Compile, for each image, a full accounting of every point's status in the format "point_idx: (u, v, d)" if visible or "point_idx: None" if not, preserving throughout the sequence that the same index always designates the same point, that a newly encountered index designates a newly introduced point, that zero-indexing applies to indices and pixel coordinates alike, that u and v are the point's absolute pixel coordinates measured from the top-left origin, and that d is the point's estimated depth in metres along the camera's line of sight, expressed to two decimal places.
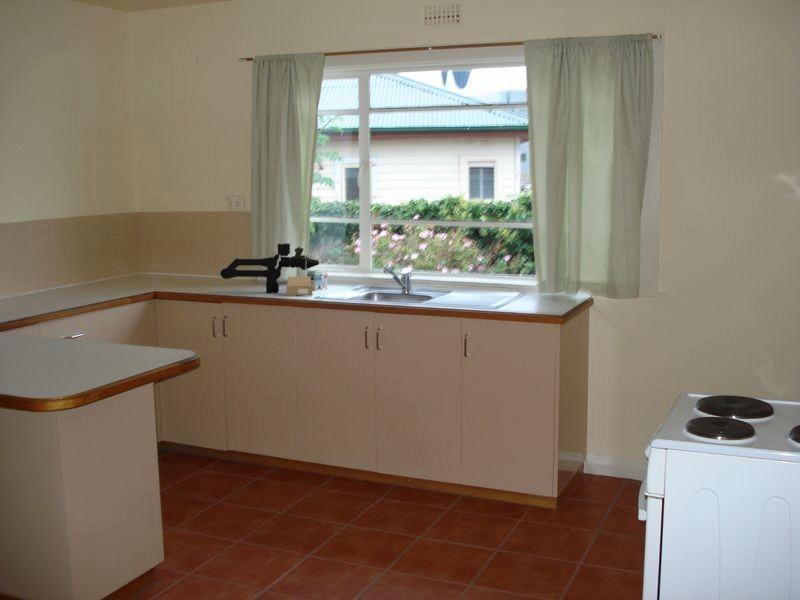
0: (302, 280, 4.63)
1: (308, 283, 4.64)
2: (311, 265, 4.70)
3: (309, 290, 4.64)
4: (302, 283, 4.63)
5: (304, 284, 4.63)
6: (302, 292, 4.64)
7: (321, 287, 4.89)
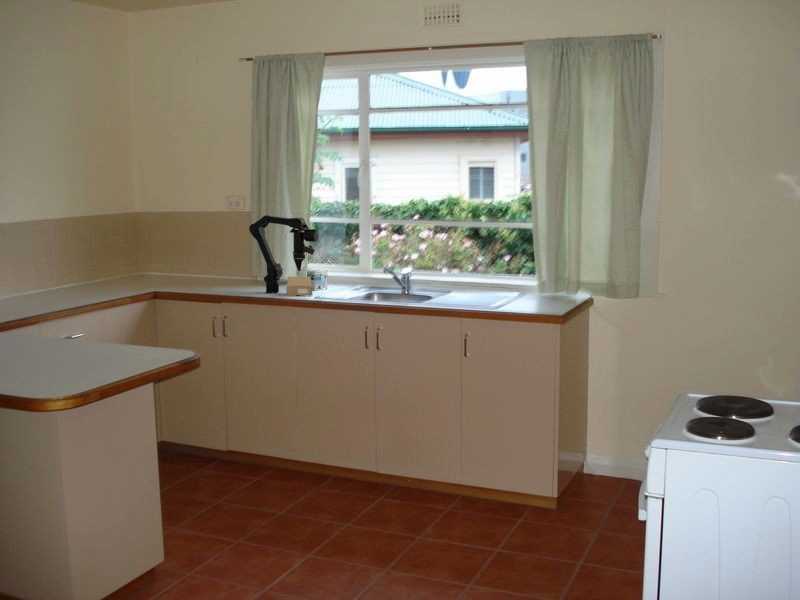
0: (302, 280, 4.63)
1: (308, 283, 4.64)
2: (297, 263, 4.63)
3: (309, 290, 4.64)
4: (302, 283, 4.63)
5: (304, 284, 4.63)
6: (302, 292, 4.64)
7: (321, 287, 4.89)
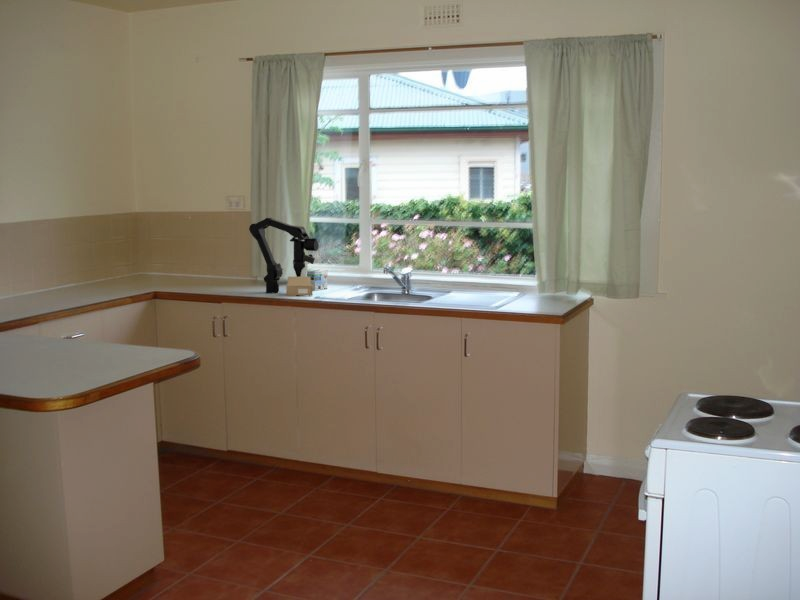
0: (302, 280, 4.63)
1: (308, 283, 4.64)
2: (297, 271, 4.67)
3: (309, 290, 4.64)
4: (302, 283, 4.63)
5: (304, 284, 4.63)
6: (302, 292, 4.64)
7: (321, 287, 4.89)
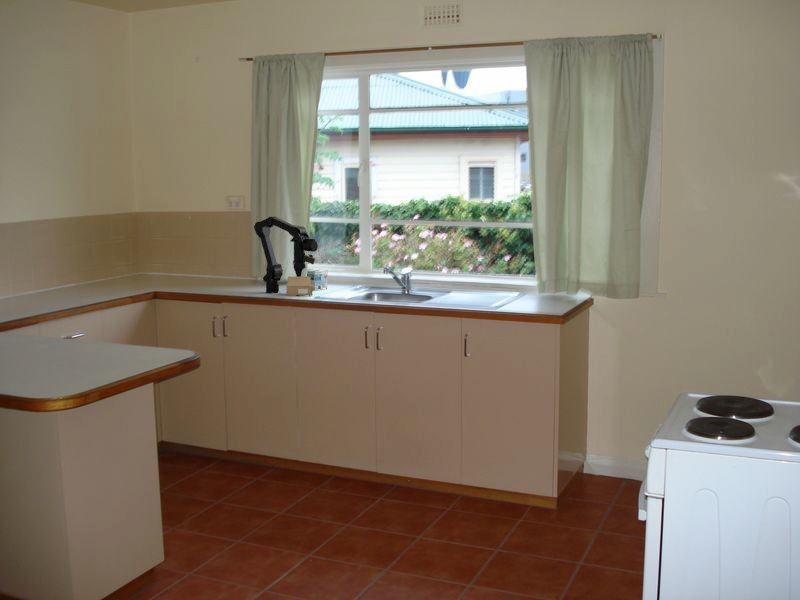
0: (302, 280, 4.63)
1: (308, 283, 4.64)
2: (297, 272, 4.63)
3: (309, 290, 4.64)
4: (302, 283, 4.63)
5: (304, 284, 4.63)
6: (302, 292, 4.64)
7: (321, 287, 4.89)
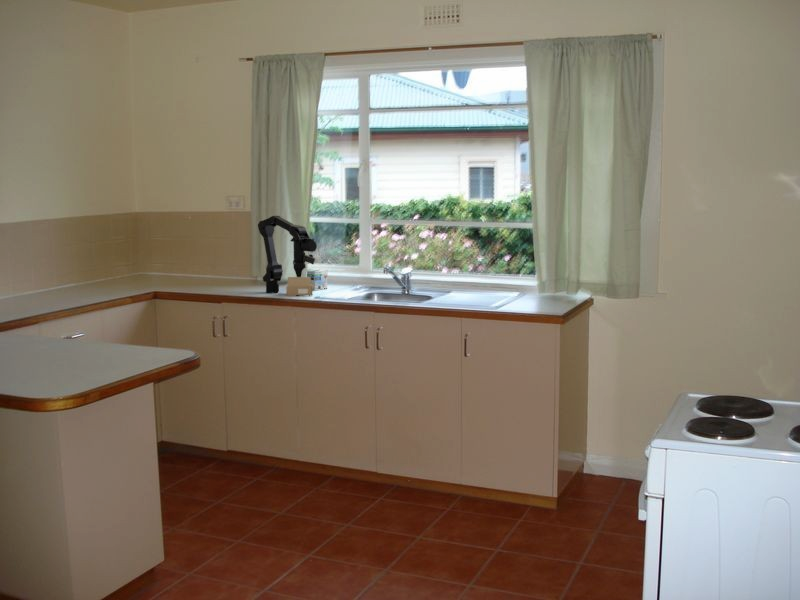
0: (302, 280, 4.62)
1: (308, 283, 4.63)
2: (297, 272, 4.60)
3: (309, 290, 4.64)
4: (302, 284, 4.62)
5: (304, 284, 4.63)
6: (302, 292, 4.64)
7: (321, 287, 4.89)
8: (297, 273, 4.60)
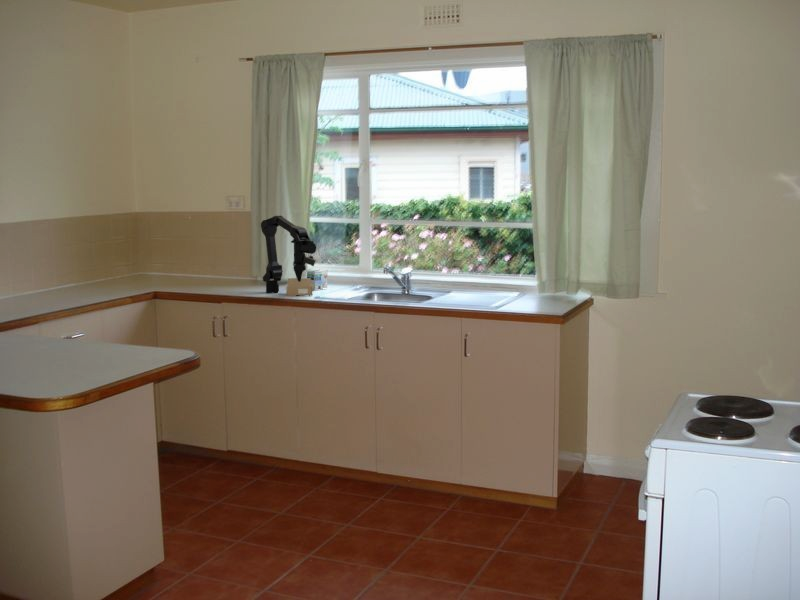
0: (302, 281, 4.61)
1: (308, 284, 4.62)
2: (297, 274, 4.56)
3: (309, 290, 4.64)
4: (302, 284, 4.62)
5: (304, 285, 4.62)
6: (302, 292, 4.64)
7: (321, 287, 4.89)
8: (297, 275, 4.57)
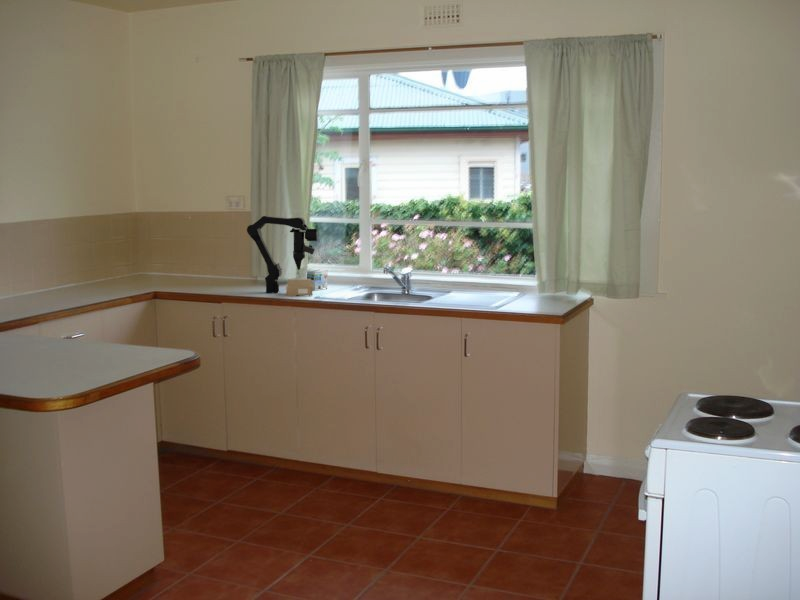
0: (302, 282, 4.61)
1: (308, 284, 4.62)
2: (296, 262, 4.70)
3: (309, 290, 4.64)
4: (302, 284, 4.62)
5: (304, 285, 4.62)
6: (302, 292, 4.64)
7: (321, 287, 4.89)
8: (297, 263, 4.70)
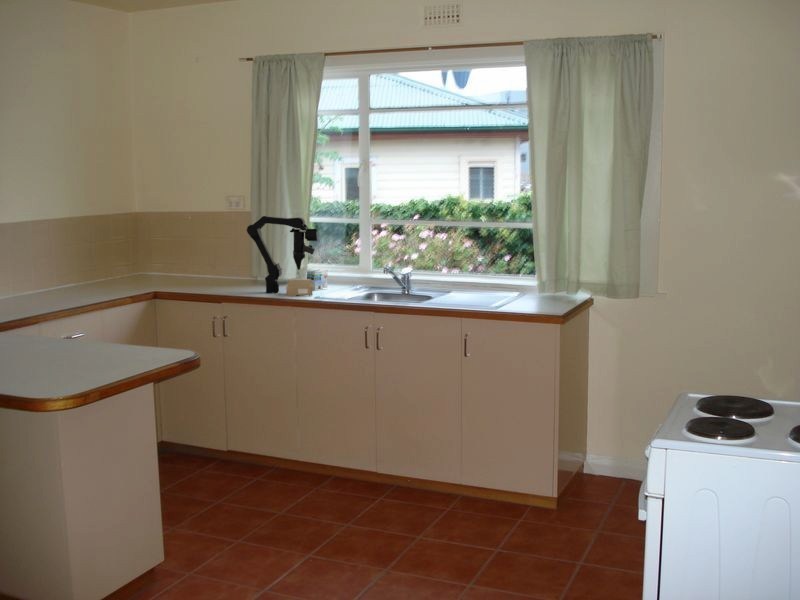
0: (302, 282, 4.61)
1: (308, 284, 4.62)
2: (297, 262, 4.70)
3: (309, 290, 4.64)
4: (302, 284, 4.62)
5: (304, 285, 4.62)
6: (302, 292, 4.64)
7: (321, 287, 4.89)
8: (297, 263, 4.70)
